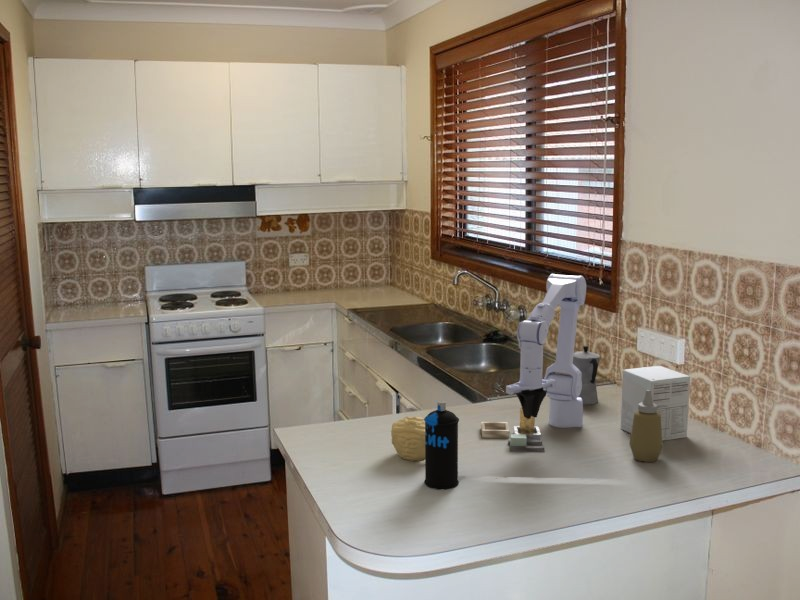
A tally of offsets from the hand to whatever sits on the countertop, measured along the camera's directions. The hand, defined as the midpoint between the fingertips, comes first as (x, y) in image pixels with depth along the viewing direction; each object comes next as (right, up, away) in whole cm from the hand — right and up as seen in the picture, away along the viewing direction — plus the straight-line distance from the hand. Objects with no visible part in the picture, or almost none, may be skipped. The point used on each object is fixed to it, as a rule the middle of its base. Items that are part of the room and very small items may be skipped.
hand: (530, 417), depth 205 cm
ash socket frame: (-8, -6, +13) cm, 16 cm away
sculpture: (-30, -10, -1) cm, 32 cm away
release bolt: (-3, -8, +2) cm, 9 cm away
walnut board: (-4, -8, +8) cm, 12 cm away
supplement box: (+37, -7, +15) cm, 41 cm away
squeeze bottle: (+29, -10, -4) cm, 31 cm away
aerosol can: (-24, -13, -19) cm, 33 cm away
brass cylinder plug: (+1, -7, +9) cm, 12 cm away
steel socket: (+1, -7, +9) cm, 12 cm away
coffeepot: (+25, -2, +45) cm, 51 cm away
